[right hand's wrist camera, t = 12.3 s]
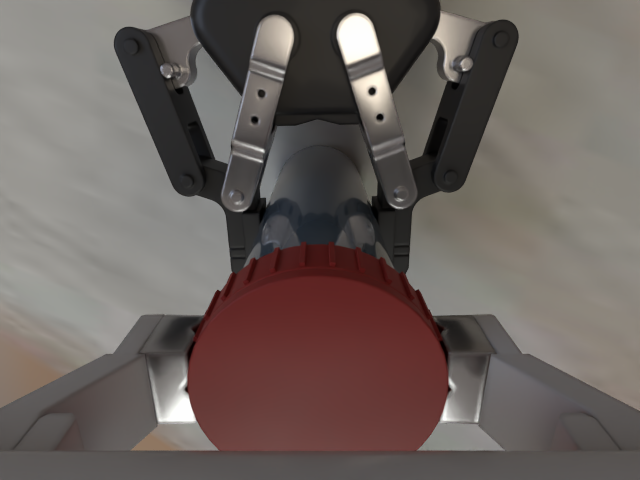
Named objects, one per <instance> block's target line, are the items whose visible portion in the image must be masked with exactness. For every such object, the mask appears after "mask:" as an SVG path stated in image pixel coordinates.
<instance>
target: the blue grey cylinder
mask: <svg viewBox="0 0 640 480" xmlns="http://www.w3.org/2000/svg"><path fill="white" fill-rule="evenodd" d="M301 242H306V243H307V245H312V244H325V245H329V242H334V245H336V246H342V247H347V248H351V249H355V248H356V247H359V248H361V251H362V252H364V253H367V254H369V255H371V256H373V257H375V258H377V259H380V257H383V258H384V259H385V260H386V263H387V265H389V266H390V267H392V268H393V269H395V268H394V265H393V263H392V260H391V257H390V255H389V252H388V249H387V247H386V244H385V241H384V239H383V236H382V233H381V231H380V228H379V225H378V223H377V220H376V217H375V215H374V212H373V209H372V207H371V204H370V201H369V199H368V196H367V193H366V191H365V188H364V185H363V183H362V180H361V177H360V175H359V172H358V170H357V168H356V166H355V164H354V163H353V162H352V160H351V159H350V158H349V157H348V156H347V155H345V154H344V153H342V152H341V151H339V150H337V149H334V148H331V147H327V146H312V147H308V148H304V149H302V150H300V151H298V152H297V153H295V154H294V155H293V156H291V157H290V158H289V159H288V160H287V162H286V163H285V164H284V166H283V168H282V170H281V172H280V175H279V177H278V180H277V182H276V185H275V187H274V190H273V192H272V195H271V197H270V200H269V202H268V205H267V208H266V210H265V213H264V215H263V218H262V220H261V223H260V225H259V228H258V230H257V233H256V236H255V238H254V241H253V243H252V246H251V248H250V251H249V253H248V256H247V258H246V261H245V263H244V266H243V268H244V267H246V266H247V265H248V264H249V262H250V259H252V258H254V257H255V258H256V260H257V259H259V258H260V257H263V256H265V255H267V254H270V253H272V252H274V249H275V248H277V247H279V248H280V250H282V249H285V248H289V247H294V246H301Z"/></svg>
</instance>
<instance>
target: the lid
mask: <svg viewBox="0 0 640 480" xmlns="http://www.w3.org/2000/svg"><path fill="white" fill-rule="evenodd" d="M442 340H443V339H442V336H441V334H440V332H439V330H438V327H437V325H436V323H435V321H434V319H433V316H432V314H431V312H430V310H428V308H427V305H426V303H425V301H424V299H423V297H422V294H421V292H420V291H419V289H418V290H416V291H415V290H414V289H413V287H412V286H411V285H410V284H409V282H408V279H407V277H406V275H405V273H404V272H401V273H400V274H399V273H398V272H397V271H396V270H395V269H393V268H392V267H390V266H389V265H387V263H386V260H385V259H384V258H383V257H380V259H377V258H375V257H373V256H371V255H369V254H367V253H364V252H362V251H361V248H359V247H356V248H355V249H351V248H347V247H342V246H336V245H334V242H329V245H325V244H312V245H307V243H306V242H301V246H294V247H289V248H285V249H282V250H280V248H279V247H277V248H275V249H274V252H272V253H270V254H267V255H265V256H263V257H260V258H259V259H257V260H256V258H255V257H254V258H252V259H250V262H249V264H248V265H247V266H246V267H244V268H243V269H242V270H240V271H239V272H238V273H237V274H236V273H234V272H233V273H232V274H230V277H229V279H228V281H227V284H226V285H225V286H224V288H223V289H222V290H221V291H219V290H217V291H216V293H215V295H214V297H213V299H212V301H211V303H210V305H209V307H208V309H207V311H206V313H205V315H204V317H203V319H202V321H201V323H200V325H199V328H198V330H197V332H196V334H195V336H194V339H193V341H195V342H196V343H195V345H194V348H193V351H192V354H191V357H190V360H189V366H188V373H187V389H188V394H189V400H190V404H191V407H192V410H193V413H194V416H195V418H196V420H197V422H198V423H199V425H200V427H201V429H202V430H203V432H204V433H205V434H206V436H207V437H208V439H209V440H210V441H211V442H212V443H213V444H214V445H215V446H216V447H217V448H218V450H220V451H416V450H417V449H418V448H419V447H421V446H422V445H423V443H424V442H425V441H426V440H427V438H428V437H429V436H430V435H431V433H432V432H433V430H434V429H435V427H436V425H437V424H438V422H439V420H440V417H441V415H442V413H443V410H444V407H445V403H446V399H447V395H448V384H449V378H448V367H447V362H446V358H445V354H444V351H443V349H442V347H441V344H440V342H439V341H442Z"/></svg>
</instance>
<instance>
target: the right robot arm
mask: <svg viewBox="0 0 640 480" xmlns="http://www.w3.org/2000/svg"><path fill="white" fill-rule="evenodd" d="M203 317H204V315H164V314H157V315H143V316H141V317H140V318H139V320H138V321H137V322H136V324H135V325H134V326H133V328H132V329H131V330H130V332H129V333H128V334H127V336H126V337H125V338H124V340H123V341H122V343H121V344H120V345H119V347H118V348H117V349H116V351H115V352H114V353H113V354H105V355H103V356H102V357H100V358H98V359H96V360H94V361H92V362H90V363H88V364H86V365H84V366H82V367H80V368H78V369H76V370H74V371H72V372H70V373H68V374H66V375H64V376H62V377H60V378H58V379H57V380H55V381H53V382H51V383H49V384H47V385H45V386H43V387H41V388H39V389H37V390H35V391H33V392H31V393H29V394H27V395H25V396H23V397H21V398H19V399H17V400H15V401H13V402H11V403H10V404H8V405H6V406H4V407H2V408H0V480H640V411H638V410H636V409H634V408H633V407H631V406H629V405H627V404H625V403H623V402H621V401H619V400H617V399H615V398H613V397H611V396H609V395H607V394H605V393H604V392H602V391H600V390H598V389H596V388H594V387H592V386H590V385H588V384H586V383H584V382H582V381H580V380H578V379H576V378H575V377H573V376H571V375H569V374H567V373H565V372H563V371H561V370H559V369H557V368H555V367H553V366H551V365H549V364H547V363H546V362H544V361H542V360H540V359H538V358H536V357H534V356H532V355H530V354H522V353H521V351H520V350H519V348H518V347H517V346H516V344H515V343H514V342H513V340H512V339H511V338H510V336H509V335H508V333H507V332H506V331H505V329H504V328H503V327H502V325H501V324H500V322H499V321H498V320H497V318H496V317H495V316H494V315H492V314H484V315H450V316H433V319H434V321H435V323H436V325H437V327H438V330H439V332H440V334H441V336H442V339H443V340H442V341H439V342H440V344H441V347H442V349H443V351H444V354H445V358H446V362H447V367H448V378H449V384H448V395H447V399H446V403H445V407H444V410H443V413H442V415H441V417H440V420H439V422H440V423H457V424H479V427H480V428H481V429H482V430H484V431H485V432H486V433H487V434H488V435H489V436H490V437H491V438H492V439H493V440H495V441H496V442H497V443H498V444H499V445H500V446H501V447H502V448H503V449H504V450H505V451H130V450H131V449H132V448H134V447H135V446H136V445H137V444H138V443H139V442H140V441H141V440H142V439H144V438H145V437H146V436H147V435H148V434H149V433H150V432H151V431H152V430H154V429H155V428H156V427H157V424H178V423H196V422H197V420H196V418H195V416H194V413H193V410H192V407H191V404H190V400H189V394H188V389H187V373H188V366H189V360H190V357H191V354H192V351H193V348H194V345H195V343H196V342H195V341H193V339H194V336H195V334H196V332H197V330H198V328H199V325H200V323H201V321H202V319H203Z"/></svg>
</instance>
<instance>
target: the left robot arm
mask: <svg viewBox="0 0 640 480" xmlns="http://www.w3.org/2000/svg"><path fill="white" fill-rule="evenodd" d="M518 38H519V35H518V30H517V28H516V26H515V25H514V24H513V23H512V22H510V21H508V20H498V21H491V22H487V23H484V22H481V21H477V20H474V19H470V18H467V17H463V16H460V15H456V14H453V13H449V12H446V11H442V10H441V8H440V2H439V0H193V3H192V6H191V14H190V16H188V17H185V18H182V19H179V20H176V21H173V22H170V23H167V24H164V25H161V26H158V27H155V28H152V29H149V30H143V29H138V28H134V27H125V28H122V29H121V30H119V31H118V32H117V34H116V36H115V39H114V48H115V52H116V54H117V56H118V59H119V61H120V63H121V66H122V68H123V70H124V73H125V75H126V77H127V80H128V82H129V85H130V87H131V89H132V92H133V94H134V96H135V99H136V101H137V103H138V106H139V108H140V110H141V113H142V115H143V117H144V120H145V122H146V124H147V127H148V129H149V132H150V134H151V136H152V139H153V141H154V143H155V146H156V148H157V150H158V153H159V155H160V157H161V160H162V162H163V164H164V167H165V169H166V171H167V174H168V176H169V178H170V181H171V183H172V185H173V187H174V189H175V190H176V191H177V192H178V193H179V194H181V195H183V196H188V197H189V196H195V195H198V196H201V197H204V198H207V199H210V200H213V201H215V202H217V203H218V204H219V205H220V206H221V207H222V208H223V210H224V212H225V214H226V221H227V230H228V240H229V248H230V257H231V269H232V272H234V273H236V274H237V273H238V272H239V271H240V270H242V269H243V266H244V263H245V261H246V258H247V256H248V253H249V251H250V248H251V246H252V243H253V241H254V238H255V236H256V233H257V230H258V228H259V225H260V223H261V220H262V218H263V215H264V213H265V210H266V198H260V186H261V182H262V178H263V175H264V171H265V167H266V164H267V160H268V156H269V153H270V149H271V146H272V143H273V140H274V137H275V133H276V130H277V126H296V125H299V124H302V123H306V122H309V121H312V120H316V119H319V120H323V121H327V122H331V123H335V124H339V125H345V124H359V127H360V130H361V133H362V136H363V139H364V142H365V144H366V147H367V150H368V153H369V156H370V159H371V163H372V166H373V169H374V172H375V175H376V178H377V181H378V189H377V196H372V209H373V212H374V215H375V217H376V220H377V223H378V225H379V228H380V231H381V233H382V236H383V239H384V241H385V244H386V247H387V249H388V252H389V255H390V257H391V260H392V263H393V265H394V268H395V270H396V271H397V272H398V273H399V274H400V273H401V272H404V273H405V274H406V272H407V270H408V268H409V252H410V235H411V219H412V211H413V208H414V206H415V204H416V203H417V202H418V201H419V200H420V199H422V198H423V197H425V196H428V195H431V194H433V193H436V192H439V191H443V192H454V191H456V190H458V189H460V188H461V187H462V186H463V184H464V183H465V181H466V178H467V175H468V173H469V170H470V167H471V165H472V162H473V159H474V157H475V154H476V152H477V149H478V146H479V144H480V141H481V138H482V136H483V133H484V130H485V128H486V125H487V123H488V120H489V117H490V115H491V112H492V109H493V107H494V104H495V101H496V99H497V96H498V94H499V91H500V88H501V86H502V83H503V80H504V78H505V75H506V72H507V70H508V67H509V65H510V62H511V59H512V57H513V54H514V51H515V49H516V46H517V43H518ZM429 42H431V43H432V44H433V45H434V46H435V47H436V49H437V52H438V61H437V71H438V74H439V76H440V77H441V78H442V79H443V80H445V81H447V84H446V87H445V90H444V93H443V96H442V99H441V102H440V105H439V108H438V111H437V114H436V116H435V119H434V122H433V125H432V128H431V131H430V134H429V137H428V140H427V143H426V146H425V149H424V152H423V155H422V156H421V157H418V158H415V159H413V160H410V161H409V159H408V156H407V152H406V149H405V139H404V135H403V131H402V128H401V124H400V121H399V117H398V114H397V110H396V107H395V103H394V100H393V96H392V93H393V92H394V91H395V89H396V88H397V86H398V85H399V84H400V82H401V81H402V79H403V78H404V77H405V75H406V74H407V72H408V71H409V70H410V68H411V67H412V65H413V64H414V63H415V61H416V60H417V59H418V57H419V56H420V54H421V53H422V52H423V50H424V49H425V47H426V46H427V45H428V43H429ZM202 47H203V48H204V49H205V50H206V51H207V53H208V54H209V55H210V57H211V58H212V59H213V60H214V62H215V63H216V64H217V65H218V67H219V68H220V69H221V71H222V72H223V73H224V74H225V76H226V77H227V78H228V80H229V81H230V82H231V83H232V85H233V86H234V87H235V88H236V90H237V91H238V92H239V94H240V95H241V96H242V98H241V103H240V107H239V111H238V115H237V119H236V124H235V128H234V132H233V136H232V141H231V154H230V158H229V162H228V164H226V163H223V162H220V161H217V160H215V157H214V155H213V152H212V149H211V147H210V144H209V142H208V139H207V136H206V134H205V131H204V128H203V126H202V123H201V121H200V118H199V115H198V113H197V110H196V107H195V105H194V102H193V100H192V97H191V94H190V92H189V89H188V86H190V85H192V84H193V83H194V81H195V79H196V77H197V68H196V62H195V60H196V55H197V53H198V51H199V50H200V49H201V48H202Z"/></svg>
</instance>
